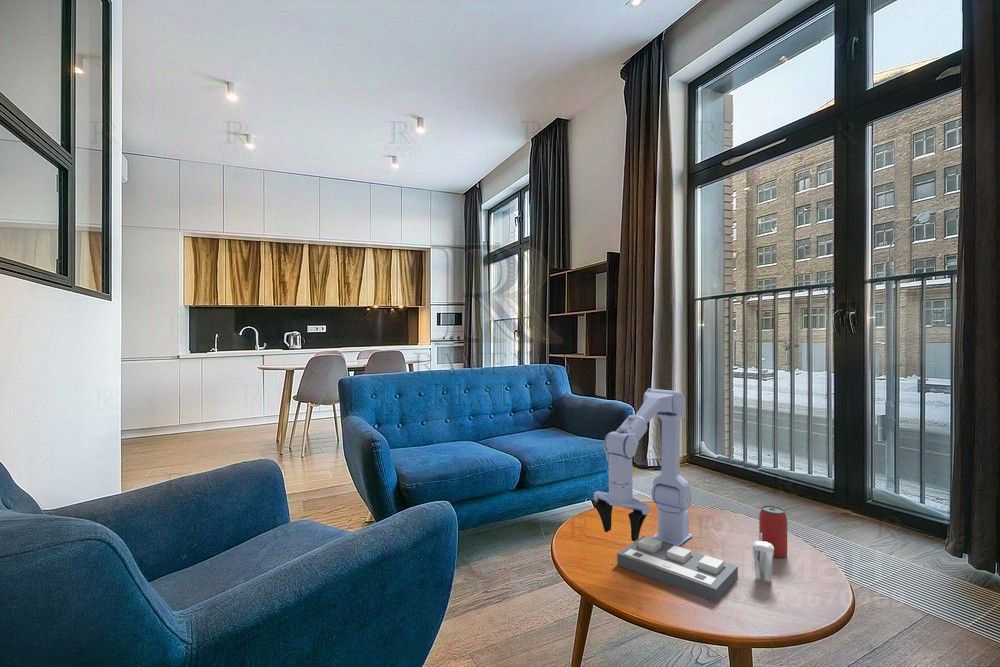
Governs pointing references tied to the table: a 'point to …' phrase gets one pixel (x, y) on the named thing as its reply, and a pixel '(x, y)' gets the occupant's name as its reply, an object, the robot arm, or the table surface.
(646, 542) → the key
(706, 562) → the key
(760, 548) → the milkshake
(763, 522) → the beer can
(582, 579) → the table surface
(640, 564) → the button board
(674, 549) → the key middle
